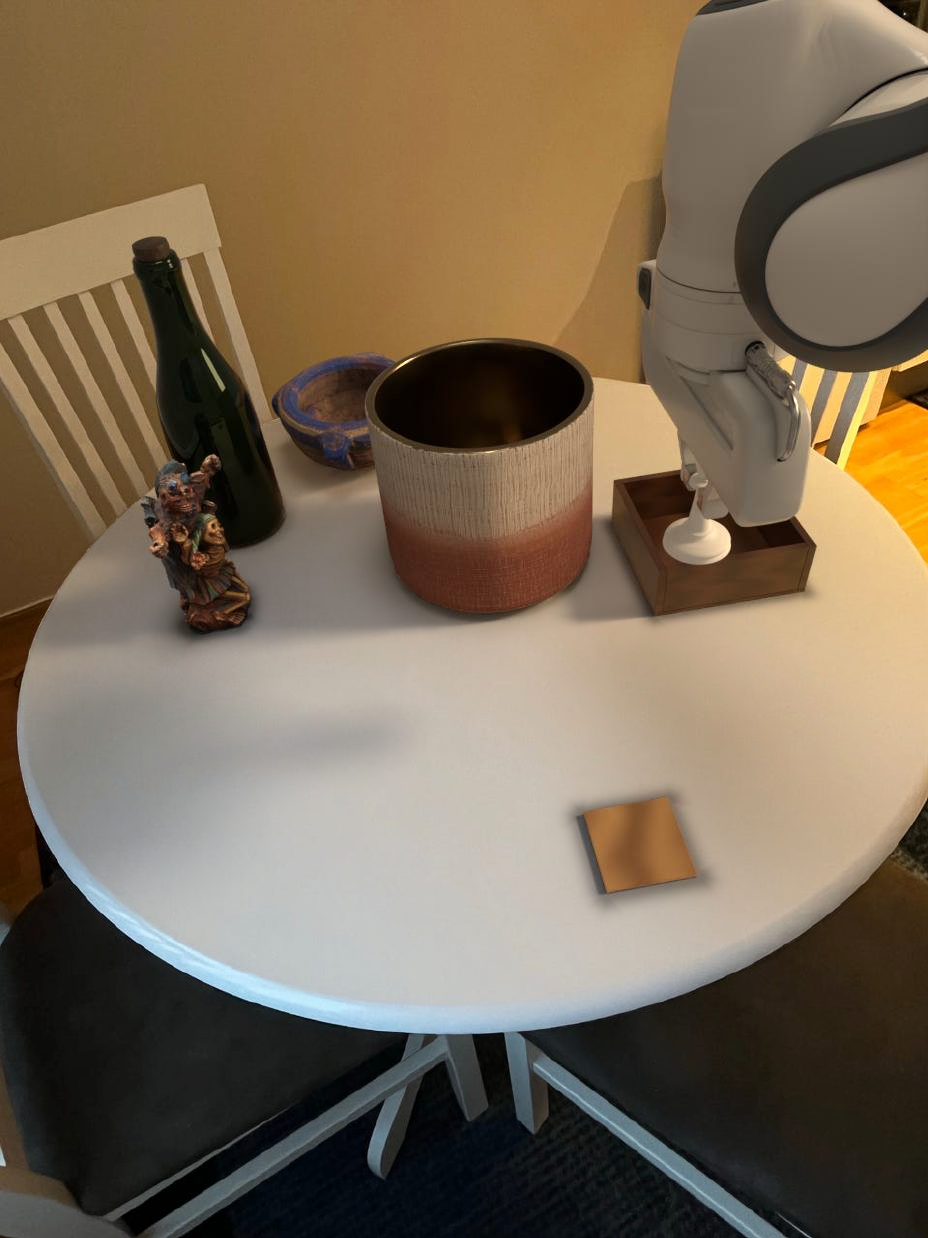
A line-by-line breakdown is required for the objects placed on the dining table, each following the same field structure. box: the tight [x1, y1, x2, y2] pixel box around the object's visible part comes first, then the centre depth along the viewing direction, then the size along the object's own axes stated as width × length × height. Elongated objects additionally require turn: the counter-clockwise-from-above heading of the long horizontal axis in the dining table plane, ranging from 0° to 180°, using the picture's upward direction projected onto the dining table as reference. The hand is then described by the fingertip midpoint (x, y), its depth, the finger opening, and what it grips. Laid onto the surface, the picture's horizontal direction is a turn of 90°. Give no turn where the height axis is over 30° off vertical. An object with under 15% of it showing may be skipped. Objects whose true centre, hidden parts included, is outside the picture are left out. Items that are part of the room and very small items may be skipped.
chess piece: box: [663, 455, 731, 565], centre depth 59 cm, size 5×5×10 cm
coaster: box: [582, 796, 698, 894], centre depth 65 cm, size 7×7×1 cm
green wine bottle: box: [131, 235, 286, 547], centre depth 89 cm, size 10×10×33 cm
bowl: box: [271, 351, 398, 472], centre depth 105 cm, size 18×18×10 cm
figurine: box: [140, 454, 253, 635], centre depth 82 cm, size 11×9×18 cm
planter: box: [365, 337, 595, 614], centre depth 85 cm, size 22×22×20 cm
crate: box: [610, 468, 818, 617], centre depth 87 cm, size 16×16×6 cm
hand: (702, 498), depth 60 cm, fingers closed on chess piece
